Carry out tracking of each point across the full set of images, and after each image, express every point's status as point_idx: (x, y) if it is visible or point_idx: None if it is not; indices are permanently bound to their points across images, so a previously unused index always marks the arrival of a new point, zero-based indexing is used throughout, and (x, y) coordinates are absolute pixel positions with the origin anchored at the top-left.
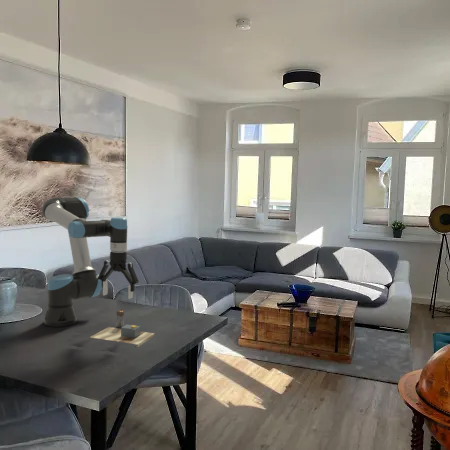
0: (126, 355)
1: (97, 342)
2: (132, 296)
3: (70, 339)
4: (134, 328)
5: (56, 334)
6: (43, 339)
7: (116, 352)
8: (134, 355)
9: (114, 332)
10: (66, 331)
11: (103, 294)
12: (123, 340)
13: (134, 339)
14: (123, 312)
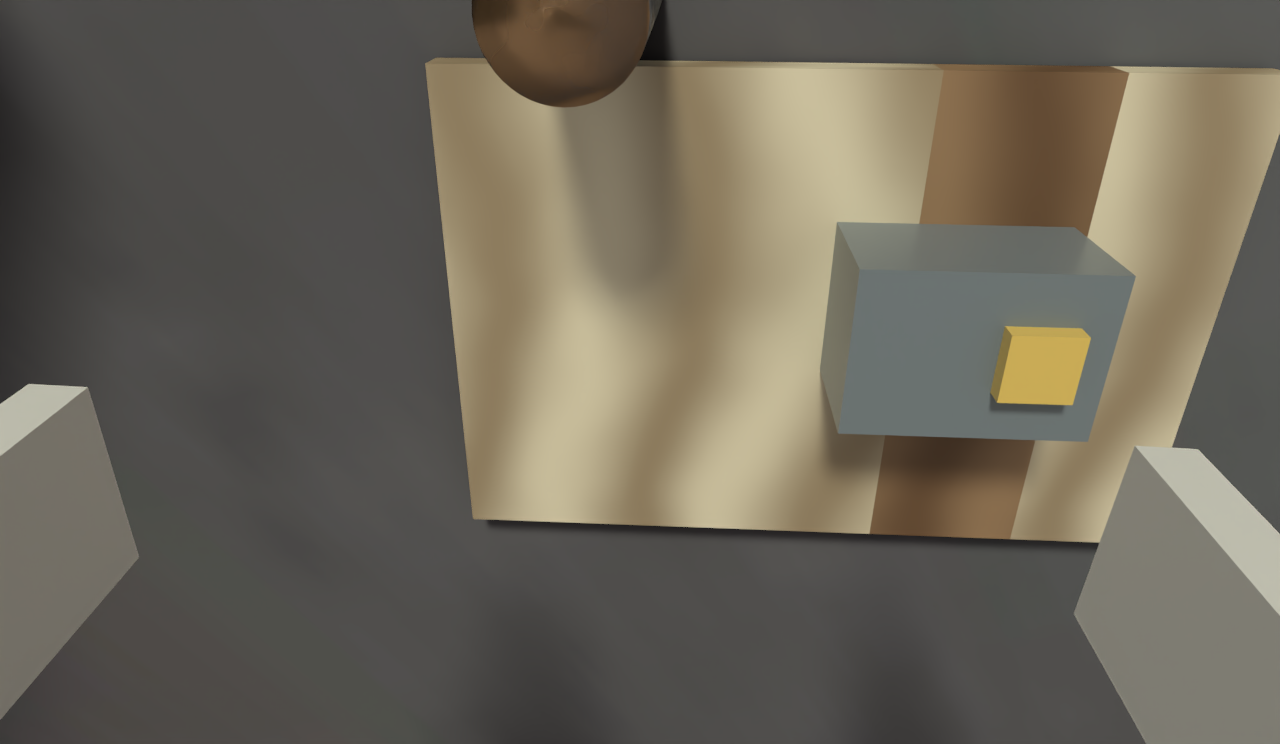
0: (1061, 704)
1: None
2: (1216, 499)
3: (279, 530)
4: (1064, 405)
5: None
6: None
7: (936, 674)
8: None
9: (657, 267)
10: (4, 329)
11: (92, 578)
12: (917, 487)
13: None
14: (650, 15)
